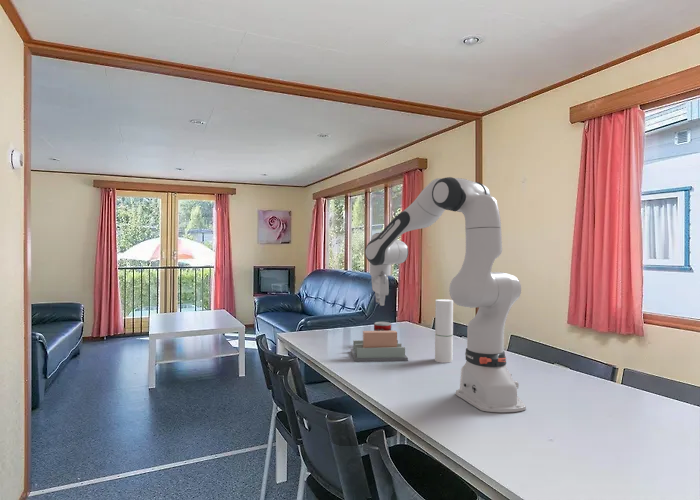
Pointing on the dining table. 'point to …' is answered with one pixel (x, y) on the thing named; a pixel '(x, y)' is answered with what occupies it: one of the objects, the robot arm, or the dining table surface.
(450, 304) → the cylindrical container
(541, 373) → the dining table surface
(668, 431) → the dining table surface
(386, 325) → the canned food
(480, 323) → the robot arm
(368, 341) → the terracotta tile
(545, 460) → the dining table surface
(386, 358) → the slotted rail base
